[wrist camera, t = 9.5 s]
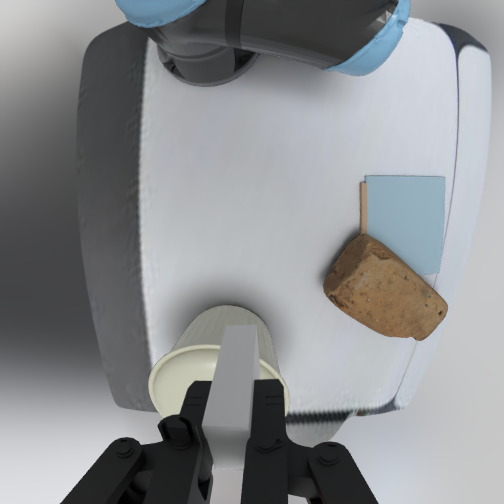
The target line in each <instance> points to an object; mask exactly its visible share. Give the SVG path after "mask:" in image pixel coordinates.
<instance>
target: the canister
mask: <svg viewBox="0 0 504 504" xmlns="http://www.w3.org/2000/svg"><path fill="white" fill-rule="evenodd" d="M231 325H256V326H257V337H258V349H259V360H260V379H279V380H280V381H281V383H282V384H283V386H284V399H285V417H286V415H287V412H288V409H289V403H290V397H289V391H288V388H287V385H286V383H285V381H284V380H283V378H282V377H281V375H280V371H279V367H278V362H277V357H276V353H275V349H274V345H273V341H272V338H271V335H270V333H269V330H268V328H267V327H266V325H265V323H264V322H262V320H261V319H260V318H259V317H257V316H256V314H254V313H252V312H251V311H249V310H246V309H244V308H241V307H238V306H232V305H229V306H227V305H223V306H216V307H213V308H210V309H209V310H205V311H204V312H203V313H201V314H199V315H198V316H197V317H196V318H195V319H194V320H193V321H192V322H191V324H190V325H189V326H188V328H187V329H186V330H185V331H184V333H183V334H182V336H181V337H180V338H179V340H178V341H177V343H176V344H175V346H174V347H173V348H172V350H171V351H170V352H169V353H167V354H166V355H164V356H163V357H162V358H161V359H160V360H159V361H158V362H157V363H156V364H155V366H154V367H153V369H152V371H151V374H150V377H149V393H150V397H151V400H152V402H153V404H154V406H155V408H156V409H157V411H158V412H159V413H160V414H161V416H162V417H163V418H165V417H167V416H170V415H174V414H179V413H180V410H181V407H182V405H183V401H184V398H185V395H186V392H187V389H188V387H189V386H190V385H191V384H192V383H193V382H194V381H195V380H199V381H212V380H213V376H214V372H215V368H216V364H217V360H218V355H219V351H220V347H221V343H222V339H223V335H224V331H225V327H226V326H231Z"/></svg>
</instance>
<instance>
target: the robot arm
mask: <svg viewBox="0 0 504 504" xmlns="http://www.w3.org/2000/svg"><path fill="white" fill-rule="evenodd" d="M115 2H116V4H117V5H118V7H119V8H120V9H121V11H122V12H123V13H124V14H125V16H126V18H127V20H128V21H129V22H131V23H132V24H134V25H136V26H138V27H139V28H140V29H141V30H142V31H143V32H145V33H146V34H147V35H148V36H149V37H150V38H151V39H152V40H153V41H155V42H156V43H157V51H158V55H159V58H160V60H161V62H162V64H163V65H164V67H165V68H166V69H167V70H168V71H169V72H170V73H171V74H172V75H173V76H175V77H176V78H177V79H179V80H181V81H183V82H185V83H187V84H190V85H195V86H204V87H206V86H216V85H221V84H224V83H227V82H230V81H232V80H234V79H236V78H238V77H239V76H241V75H242V74H243V73H245V72H246V71H247V70H248V69H249V68H250V67H251V66H252V64H253V63H254V62H255V60H256V59H257V57H258V55H259V53H263V54H268V55H273V56H277V57H282V58H286V59H290V60H294V61H298V62H302V63H306V64H309V65H313V66H317V67H318V68H320V69H322V70H327V71H336V72H340V73H344V74H347V75H351V76H364V75H367V74H369V73H371V72H373V71H375V70H376V69H377V68H379V67H380V66H381V65H382V64H383V63H384V62H385V61H386V60H387V58H388V57H389V56H390V55H391V53H392V52H393V50H394V49H395V47H396V46H397V44H398V42H399V40H400V39H401V37H402V34H403V31H402V28H403V27H404V25H405V24H406V23H407V21H408V18H409V13H410V0H115ZM158 429H159V431H160V433H161V436H162V438H163V441H161V442H158V443H152V444H145V445H141V444H140V443H139V441H137V440H135V439H134V438H128V437H125V438H119V439H117V440H115V441H114V442H112V443H111V444H110V445H109V446H108V448H107V449H106V450H105V451H104V452H103V454H102V455H101V456H100V457H99V458H98V459H97V461H96V462H95V463H94V464H93V466H92V467H91V468H90V469H89V470H88V471H87V473H86V474H85V475H84V476H83V477H82V479H81V480H80V481H79V482H78V484H76V486H75V487H74V488H73V489H72V490H71V492H70V493H69V494H68V495H67V496H66V497H65V499H64V500H63V501H62V502H61V503H60V504H209V503H210V497H211V491H212V485H213V475H212V472H211V471H212V465H213V464H214V467H215V469H230V470H231V469H232V470H244V473H243V483H242V494H241V504H288V494H290V495H294V496H299V497H305V498H306V499H307V502H308V504H378V502H377V500H376V498H375V497H374V495H373V493H372V492H371V490H370V488H369V486H368V484H367V483H366V481H365V479H364V477H363V476H362V474H361V472H360V470H359V469H358V467H357V465H356V463H355V462H354V460H353V458H352V456H351V454H350V453H349V451H348V450H347V449H346V447H345V446H344V445H341V444H339V443H337V442H322V443H320V444H318V445H316V446H314V447H313V448H311V447H305V446H301V445H298V444H296V443H294V442H292V441H291V440H290V439H289V438H288V436H287V433H286V422H285V399H284V386H283V384H282V383H281V381H280V380H279V379H260V360H259V349H258V337H257V326H256V325H231V326H226V327H225V331H224V335H223V339H222V343H221V347H220V351H219V355H218V360H217V364H216V368H215V372H214V376H213V380H212V381H199V380H195V381H194V382H193V383H192V384H191V385H190V386H189V387H188V389H187V392H186V395H185V398H184V401H183V405H182V407H181V410H180V413H179V414H174V415H170V416H167V417H165V418H164V419H163V420H161V421H160V423H159V424H158Z"/></svg>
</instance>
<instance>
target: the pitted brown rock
mask: <svg viewBox="0 0 504 504" xmlns="http://www.w3.org/2000/svg"><path fill="white" fill-rule="evenodd" d="M323 288H324V293H325V294H326V296H327V297H328V299H329V300H330V301H331V302H332V303H333V304H334V305H335V306H337V307H338V308H339V309H340V310H342V311H343V312H345V313H346V314H347V315H349V316H350V317H352V318H354V319H355V320H357V321H358V322H360V323H362V324H363V325H365V326H367V327H368V328H370V329H372V330H374V331H376V332H378V333H380V334H382V335H385V336H388V337H401V338H408V337H413V338H414V339H415V340H418V341H422V340H424V339H425V338H427V337H428V336H429V335H430V334H431V333H432V332H433V331H434V330H435V329H436V327H437V326H438V325H439V324H440V323H441V321H442V320H443V319H444V318H445V316H446V314H447V311H448V305H447V303H446V302H445V300H444V299H443V298H442V297H441V296H440V295H439V294H438V293H437V292H436V291H435V290H434V289H433V288H432V287H431V286H430V285H429V284H428V283H426V282H425V281H424V280H423V279H422V278H421V277H420V276H419V275H418V274H417V273H416V272H415V271H414V270H413V269H412V268H411V267H410V266H408V265H407V264H406V263H405V262H404V261H403V260H402V259H401V258H400V257H398V256H397V255H396V254H395V253H394V252H393V251H391V250H390V249H389V248H388V247H387V246H386V245H384V244H383V243H381V242H380V241H378V240H377V239H375V238H373V237H371V236H369V235H367V234H360V235H359V236H357V237H356V238H355V239H353V240H352V241H351V242H350V243H349V244H348V245H347V246H346V248H345V249H344V251H343V252H342V254H341V255H340V256H339V258H338V259H337V261H336V262H335V264H334V265H333V267H332V270H331V272H330V274H329V275H328V276H327V278H326V280H325V281H324V284H323Z"/></svg>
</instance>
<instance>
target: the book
mask: <svg viewBox="0 0 504 504" xmlns="http://www.w3.org/2000/svg"><path fill="white" fill-rule="evenodd" d="M444 214H445V177H427V176H365V183H360V234H367V235H369V236H371V237H373V238H375V239H377V240H378V241H380V242H381V243H383V244H384V245H386V246H387V247H388V248H389V249H390V250H391V251H393V252H394V253H395V254H396V255H397V256H398V257H400V258H401V259H402V260H403V261H404V262H405V263H406V264H407V265H408V266H410V267H411V268H412V269H413V270H414V271H415V272H416V273H417V274H418V275H424V274H434V273H439V272H440V263H441V254H442V243H443V231H444Z"/></svg>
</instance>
